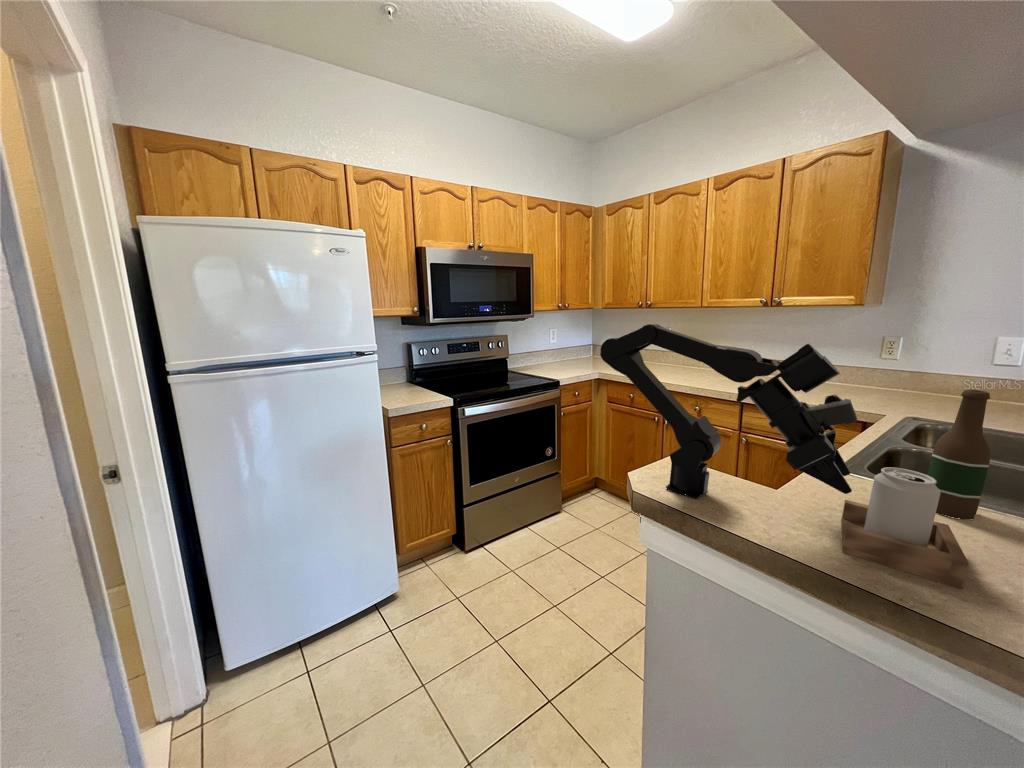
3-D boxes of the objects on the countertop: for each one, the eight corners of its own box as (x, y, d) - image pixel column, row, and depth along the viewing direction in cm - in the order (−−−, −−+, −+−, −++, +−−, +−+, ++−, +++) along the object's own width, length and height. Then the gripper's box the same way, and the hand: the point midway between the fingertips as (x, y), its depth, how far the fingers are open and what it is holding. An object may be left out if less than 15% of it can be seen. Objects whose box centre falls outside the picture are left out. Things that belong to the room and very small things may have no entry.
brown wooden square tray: (842, 552, 63) (846, 529, 63) (841, 519, 73) (845, 499, 73) (961, 588, 55) (968, 563, 55) (942, 547, 65) (948, 524, 65)
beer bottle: (928, 514, 76) (958, 392, 72) (912, 497, 83) (937, 385, 79) (986, 525, 73) (1021, 397, 68) (964, 507, 80) (994, 389, 75)
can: (920, 563, 59) (938, 488, 57) (856, 539, 65) (870, 471, 63) (930, 546, 64) (947, 476, 61) (869, 526, 69) (882, 461, 67)
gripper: (825, 389, 60) (911, 479, 55) (827, 374, 74) (895, 445, 69) (757, 428, 66) (828, 511, 62) (771, 407, 80) (830, 474, 76)
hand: (848, 483), depth 67 cm, fingers open, 9 cm apart
